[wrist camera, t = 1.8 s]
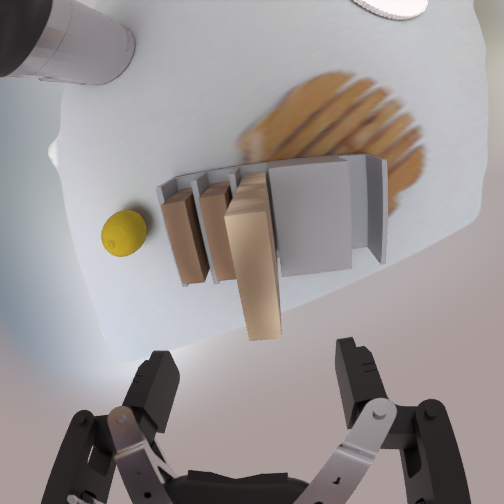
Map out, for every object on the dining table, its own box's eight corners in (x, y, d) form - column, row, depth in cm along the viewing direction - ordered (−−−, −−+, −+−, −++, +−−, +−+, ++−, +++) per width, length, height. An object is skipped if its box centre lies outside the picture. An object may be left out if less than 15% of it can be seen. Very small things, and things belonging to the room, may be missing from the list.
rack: (195, 262, 38) (182, 286, 32) (174, 177, 33) (155, 187, 27) (368, 241, 35) (385, 263, 29) (365, 153, 30) (386, 159, 24)
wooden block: (256, 252, 35) (249, 340, 21) (244, 174, 31) (224, 216, 16) (276, 250, 35) (281, 338, 20) (265, 171, 31) (265, 211, 16)
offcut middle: (225, 252, 35) (217, 281, 29) (212, 184, 32) (198, 198, 25) (245, 250, 35) (240, 278, 29) (232, 180, 31) (224, 194, 25)
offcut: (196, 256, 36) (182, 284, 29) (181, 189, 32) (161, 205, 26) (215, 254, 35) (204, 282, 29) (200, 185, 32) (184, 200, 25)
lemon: (145, 197, 34) (116, 216, 27) (161, 233, 36) (138, 260, 29) (114, 211, 35) (83, 231, 28) (130, 245, 37) (104, 271, 30)
